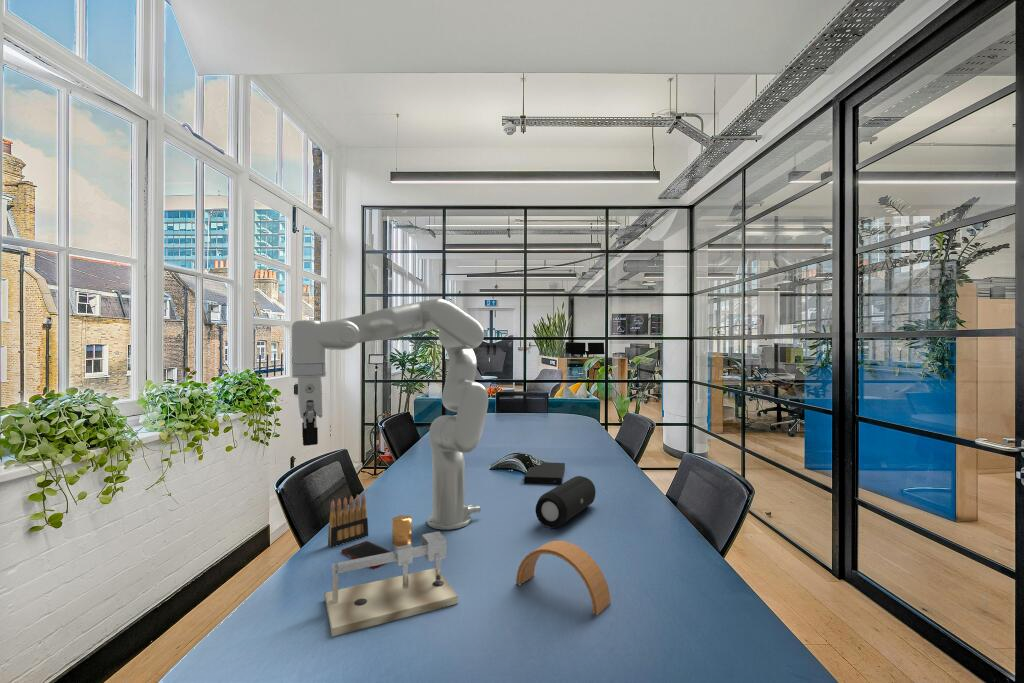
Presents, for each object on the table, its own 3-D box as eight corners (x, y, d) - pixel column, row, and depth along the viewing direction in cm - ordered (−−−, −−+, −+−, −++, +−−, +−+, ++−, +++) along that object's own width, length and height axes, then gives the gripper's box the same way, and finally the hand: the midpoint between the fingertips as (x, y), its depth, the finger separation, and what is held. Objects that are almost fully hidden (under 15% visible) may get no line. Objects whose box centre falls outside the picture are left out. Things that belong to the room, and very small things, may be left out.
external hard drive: (564, 470, 201) (564, 463, 201) (561, 486, 178) (561, 478, 178) (531, 469, 204) (531, 462, 204) (524, 484, 181) (524, 476, 181)
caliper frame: (439, 571, 107) (439, 531, 107) (448, 582, 102) (447, 540, 102) (331, 595, 97) (330, 551, 97) (334, 610, 92) (334, 563, 92)
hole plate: (436, 574, 109) (436, 567, 109) (457, 603, 97) (457, 595, 97) (325, 599, 98) (325, 592, 98) (332, 636, 86) (332, 627, 86)
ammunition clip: (331, 547, 124) (330, 501, 124) (327, 545, 126) (327, 500, 126) (368, 535, 132) (368, 492, 132) (365, 534, 133) (365, 491, 133)
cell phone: (373, 571, 112) (373, 567, 112) (340, 553, 121) (339, 550, 121) (400, 559, 118) (400, 555, 118) (366, 544, 127) (366, 540, 127)
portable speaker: (563, 533, 132) (563, 498, 132) (532, 527, 138) (532, 492, 138) (598, 507, 154) (598, 476, 154) (570, 502, 159) (570, 472, 159)
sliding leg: (409, 576, 104) (408, 514, 104) (415, 588, 99) (415, 522, 99) (390, 581, 102) (390, 517, 102) (396, 592, 97) (396, 525, 97)
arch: (531, 574, 109) (531, 530, 109) (610, 603, 96) (610, 554, 96) (515, 584, 104) (515, 538, 105) (596, 616, 92) (596, 564, 92)
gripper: (327, 372, 110) (328, 446, 110) (323, 369, 125) (324, 433, 125) (291, 373, 107) (292, 449, 106) (292, 370, 122) (293, 436, 122)
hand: (309, 441), depth 116 cm, fingers open, 9 cm apart
